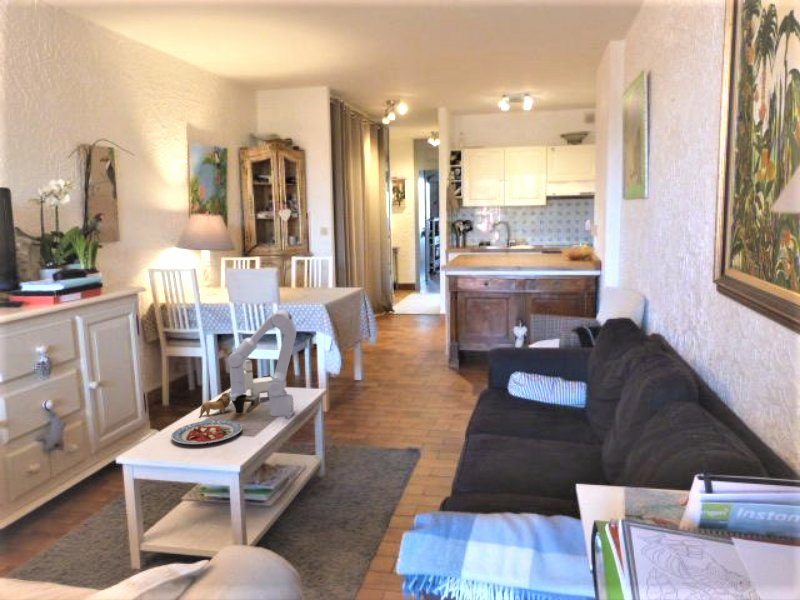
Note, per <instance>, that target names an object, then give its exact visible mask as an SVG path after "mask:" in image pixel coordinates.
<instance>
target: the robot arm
mask: <svg viewBox="0 0 800 600" xmlns="http://www.w3.org/2000/svg"><path fill="white" fill-rule="evenodd" d="M275 328H277V329H278V330H280V332H281V334H282V335H283V338H282V342H281V346H280V351H279V353H278V359H277V361H276V367H275V370H274V373H273V376H272V377H273V380H272V382H271V383H270V384H269V386H268V392H269V398H268V400H269V414H270V416H271V417H284V418H285V419H290V418H291V417H292V416H293V414H294V413H295V409H294V408H295V407H294V406H295V405H294V397H293V394H291V393H287V391H286V387H287V384H288V383H287V376H288V375H287V374H288V369H289V364H290V360H291V356H292V352H293V350H294V349H293V348H294V344H295V341H296V337H297V332H298V331H297V329H296V326H295V323H294V319H293V315H292V314H291V313H290V312H289V311H288V310H287V309H285V308H280V309H278V310H276V311H275V313H273V314H272V315H271V316H269V317H268V318H266V320H264V321H263V323H262V324H261V325H260V326H259V327H258V329H257V330H256V331H255V332H254V333H253V335H252V336H250V337H245V338H242V340H241V341H240V342H241V343H240V344H238V346H237V347H236V348H234V349H233V352H232V353H230V354H229V356H228V358H227V363H228V366H229V379H230V390H229V391H228V392H227V393H230V402H232V403H233V406H234V408H235V410H236V412H237V413H242V412H243V407H244V402H245V399H246V397H247V396H248V395H247V391H248V390H247V386H245V376H244V365H243V362H244V361H245V359H246V358H249V356H250V355H251V354H252V353H253V352H254V351H255V349H257V347H258V346H257V344H258V343H257V342H258V341H259V340H260V339H261V338H262V337H263V336H264V335H265V334H267V332H268V331H269V330H273V329H275Z"/></svg>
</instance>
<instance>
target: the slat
mask: <svg viewBox="0 0 800 600" xmlns="http://www.w3.org/2000/svg"><path fill="white" fill-rule="evenodd" d="M252 406H253V401H245V402H244V407H243V412H242V413H237V414H245V413H246V412H247V411H248V409H250V408H251V407H252Z"/></svg>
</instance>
